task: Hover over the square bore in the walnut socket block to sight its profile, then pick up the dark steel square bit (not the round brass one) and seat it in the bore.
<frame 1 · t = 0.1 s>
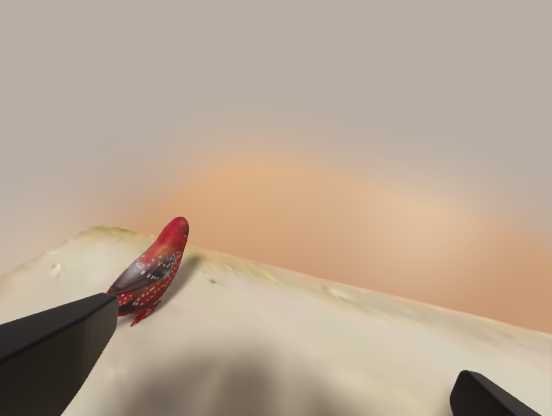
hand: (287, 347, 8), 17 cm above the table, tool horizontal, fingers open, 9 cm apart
decorative bird figurine: (132, 328, 32), on the table
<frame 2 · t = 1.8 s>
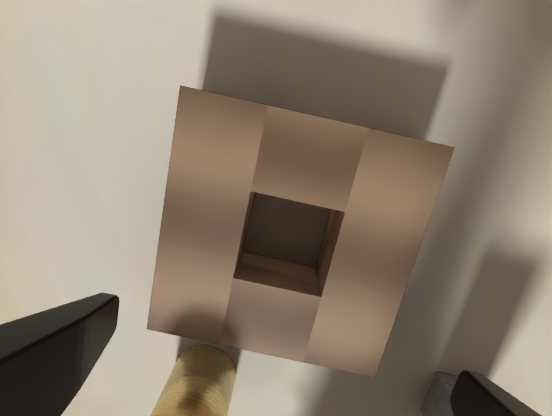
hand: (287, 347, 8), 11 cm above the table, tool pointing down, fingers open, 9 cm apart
socket block: (287, 224, 19), on the table
round bit: (205, 371, 21), on the table
square bit: (452, 397, 21), on the table
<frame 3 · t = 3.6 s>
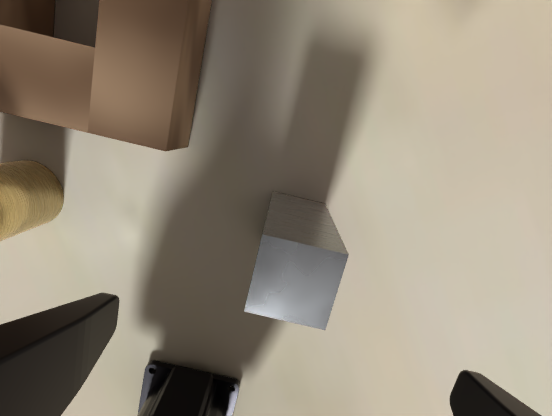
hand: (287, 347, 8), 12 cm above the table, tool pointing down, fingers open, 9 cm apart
socket block: (95, 9, 17), on the table
round bit: (31, 192, 20), on the table
square bit: (292, 222, 20), on the table
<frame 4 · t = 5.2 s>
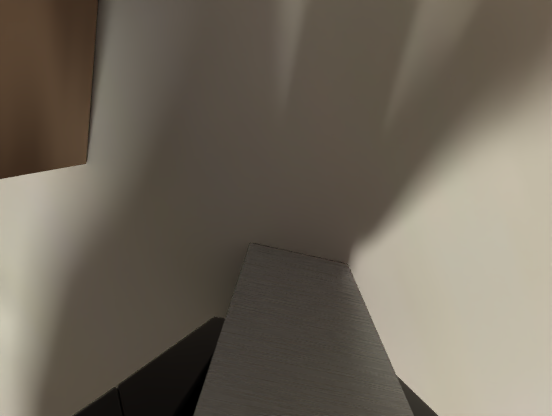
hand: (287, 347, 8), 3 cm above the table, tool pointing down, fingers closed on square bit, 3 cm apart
square bit: (288, 297, 11), on the table, touching gripper
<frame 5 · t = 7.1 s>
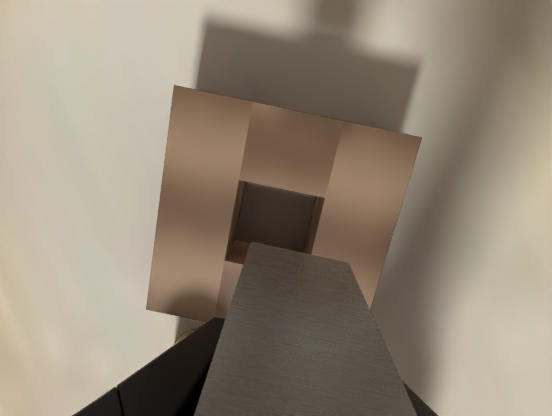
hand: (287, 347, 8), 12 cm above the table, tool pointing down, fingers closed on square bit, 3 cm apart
socket block: (275, 213, 20), on the table
square bit: (288, 296, 11), point 10 cm above the table, touching gripper
when the fingers open (4 cm above the table, at t = 9.3 s): square bit drops 2 cm, resting in socket block.
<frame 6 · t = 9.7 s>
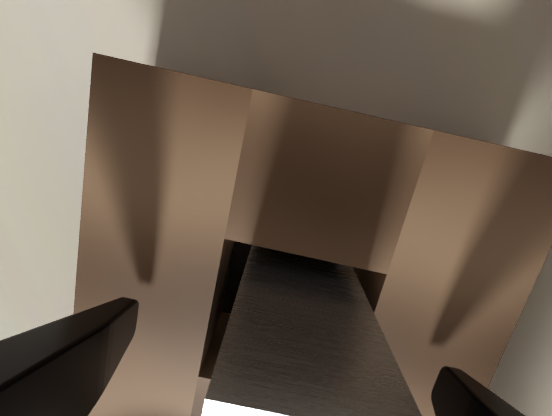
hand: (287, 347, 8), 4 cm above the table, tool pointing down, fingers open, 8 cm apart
socket block: (287, 273, 13), on the table
square bit: (290, 273, 13), resting in socket block
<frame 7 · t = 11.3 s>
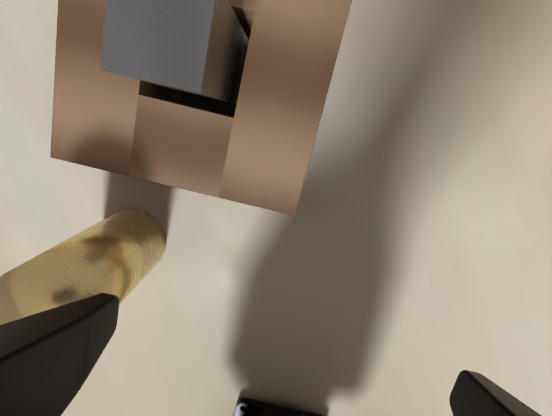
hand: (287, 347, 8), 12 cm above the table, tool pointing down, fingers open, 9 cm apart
socket block: (212, 67, 18), on the table
round bit: (133, 240, 20), on the table
square bit: (214, 67, 18), resting in socket block
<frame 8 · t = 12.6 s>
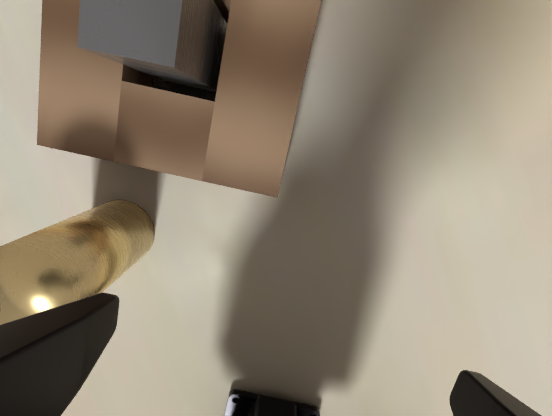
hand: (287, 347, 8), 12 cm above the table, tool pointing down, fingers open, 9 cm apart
socket block: (196, 56, 18), on the table
round bit: (122, 231, 21), on the table
square bit: (198, 56, 18), resting in socket block
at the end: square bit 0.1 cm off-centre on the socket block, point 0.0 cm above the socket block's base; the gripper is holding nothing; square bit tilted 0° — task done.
